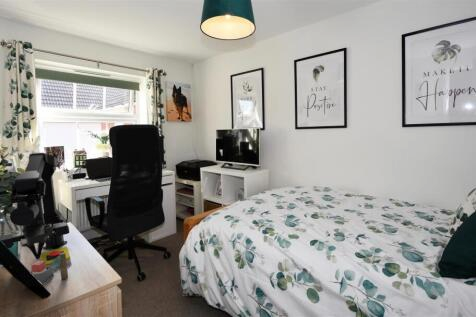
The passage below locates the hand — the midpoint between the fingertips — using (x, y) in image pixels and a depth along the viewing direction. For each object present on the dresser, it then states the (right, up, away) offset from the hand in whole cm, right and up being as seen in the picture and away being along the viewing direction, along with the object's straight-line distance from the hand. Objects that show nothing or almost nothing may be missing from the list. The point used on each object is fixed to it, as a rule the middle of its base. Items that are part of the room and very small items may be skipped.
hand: (38, 258), depth 89 cm
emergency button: (-3, -7, +13) cm, 15 cm away
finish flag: (+8, -8, 0) cm, 11 cm away
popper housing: (0, -8, +1) cm, 8 cm away
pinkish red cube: (0, -5, +1) cm, 5 cm away
